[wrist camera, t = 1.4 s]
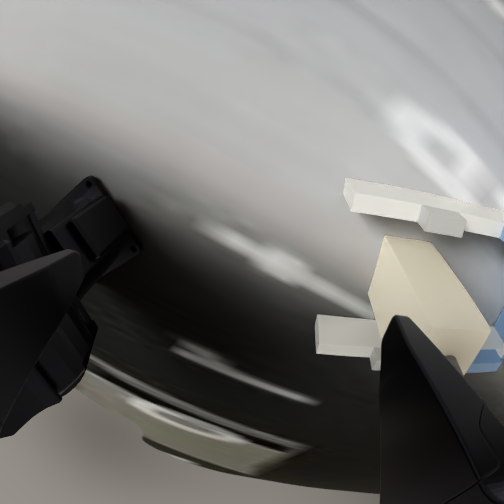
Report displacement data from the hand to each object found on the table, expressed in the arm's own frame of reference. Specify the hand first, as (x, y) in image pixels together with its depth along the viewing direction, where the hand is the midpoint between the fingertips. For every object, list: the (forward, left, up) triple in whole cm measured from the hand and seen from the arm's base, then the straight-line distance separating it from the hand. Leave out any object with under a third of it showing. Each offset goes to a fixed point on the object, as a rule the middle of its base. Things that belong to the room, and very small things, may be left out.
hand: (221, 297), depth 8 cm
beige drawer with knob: (+5, -10, -12) cm, 16 cm away
